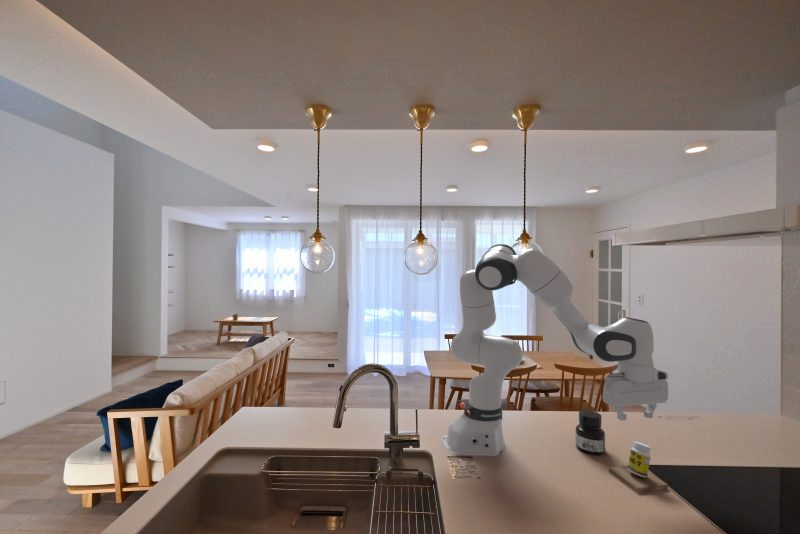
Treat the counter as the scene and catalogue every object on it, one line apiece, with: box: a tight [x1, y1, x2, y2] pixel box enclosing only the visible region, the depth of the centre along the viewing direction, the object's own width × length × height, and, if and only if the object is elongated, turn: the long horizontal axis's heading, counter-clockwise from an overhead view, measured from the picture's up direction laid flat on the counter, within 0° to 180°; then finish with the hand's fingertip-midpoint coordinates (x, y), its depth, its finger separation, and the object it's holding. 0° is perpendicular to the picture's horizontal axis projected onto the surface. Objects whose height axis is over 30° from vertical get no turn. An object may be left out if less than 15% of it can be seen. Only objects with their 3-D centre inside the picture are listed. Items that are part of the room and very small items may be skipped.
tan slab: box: [608, 465, 669, 494], centre depth 99 cm, size 10×10×2 cm
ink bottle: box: [575, 409, 606, 456], centre depth 117 cm, size 10×9×12 cm
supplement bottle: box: [627, 440, 651, 477], centre depth 100 cm, size 5×5×8 cm
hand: (635, 418), depth 101 cm, fingers open, 8 cm apart
